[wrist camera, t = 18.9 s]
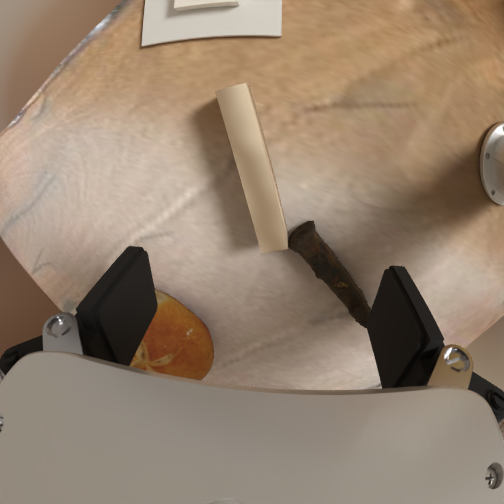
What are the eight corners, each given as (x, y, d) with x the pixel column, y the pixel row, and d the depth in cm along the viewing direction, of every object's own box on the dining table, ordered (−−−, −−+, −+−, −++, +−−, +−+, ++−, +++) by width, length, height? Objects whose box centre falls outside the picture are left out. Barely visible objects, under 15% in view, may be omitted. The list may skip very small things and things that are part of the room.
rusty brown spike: (285, 232, 35) (285, 251, 31) (311, 215, 34) (314, 232, 30) (353, 319, 42) (358, 341, 38) (375, 308, 40) (381, 329, 36)
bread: (160, 245, 38) (129, 287, 29) (243, 351, 47) (236, 398, 38) (79, 293, 45) (52, 328, 37) (154, 371, 54) (140, 408, 46)
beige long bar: (250, 86, 27) (245, 82, 22) (287, 229, 35) (287, 248, 31) (224, 93, 27) (215, 91, 23) (264, 233, 36) (261, 253, 31)
